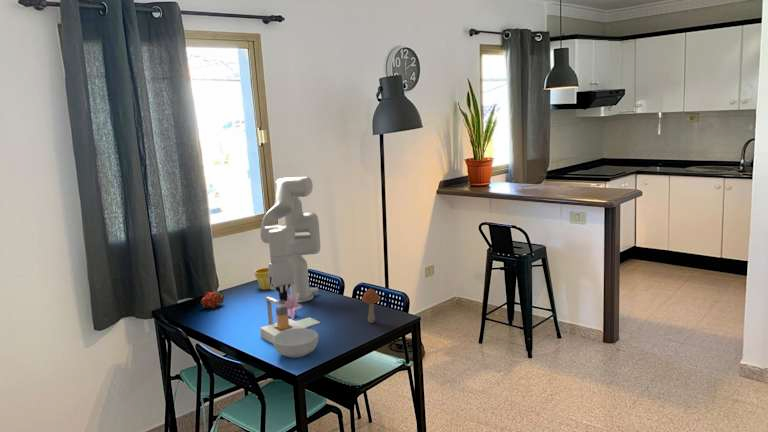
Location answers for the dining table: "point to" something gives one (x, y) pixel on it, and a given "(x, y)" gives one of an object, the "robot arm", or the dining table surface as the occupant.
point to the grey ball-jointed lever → (275, 301)
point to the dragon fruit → (212, 299)
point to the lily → (292, 305)
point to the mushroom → (371, 303)
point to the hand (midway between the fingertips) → (283, 300)
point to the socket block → (276, 326)
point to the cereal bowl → (295, 342)
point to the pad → (308, 322)
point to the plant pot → (262, 278)
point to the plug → (282, 318)
